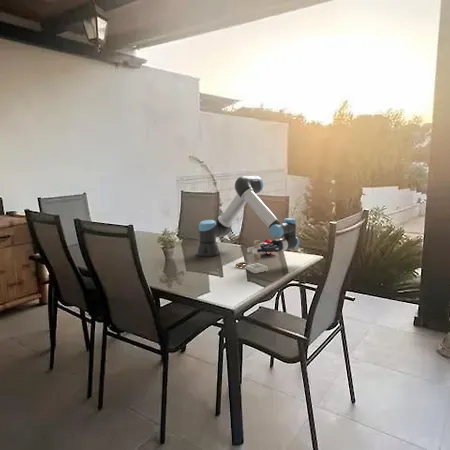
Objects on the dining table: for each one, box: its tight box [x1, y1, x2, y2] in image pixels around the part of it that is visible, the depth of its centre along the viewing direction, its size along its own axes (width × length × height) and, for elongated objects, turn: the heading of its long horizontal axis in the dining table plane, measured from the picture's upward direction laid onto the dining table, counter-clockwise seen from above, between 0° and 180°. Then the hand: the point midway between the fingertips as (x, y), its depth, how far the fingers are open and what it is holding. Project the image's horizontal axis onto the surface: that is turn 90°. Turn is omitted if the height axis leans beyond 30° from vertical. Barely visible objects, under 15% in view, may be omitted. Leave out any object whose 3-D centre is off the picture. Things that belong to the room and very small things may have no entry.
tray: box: [245, 262, 269, 272], centre depth 231 cm, size 9×9×3 cm
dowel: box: [253, 239, 261, 263], centre depth 229 cm, size 4×4×12 cm
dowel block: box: [235, 261, 252, 269], centre depth 240 cm, size 7×7×2 cm
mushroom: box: [260, 239, 273, 254], centre depth 270 cm, size 11×11×12 cm
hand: (250, 250), depth 225 cm, fingers closed on dowel, 3 cm apart
